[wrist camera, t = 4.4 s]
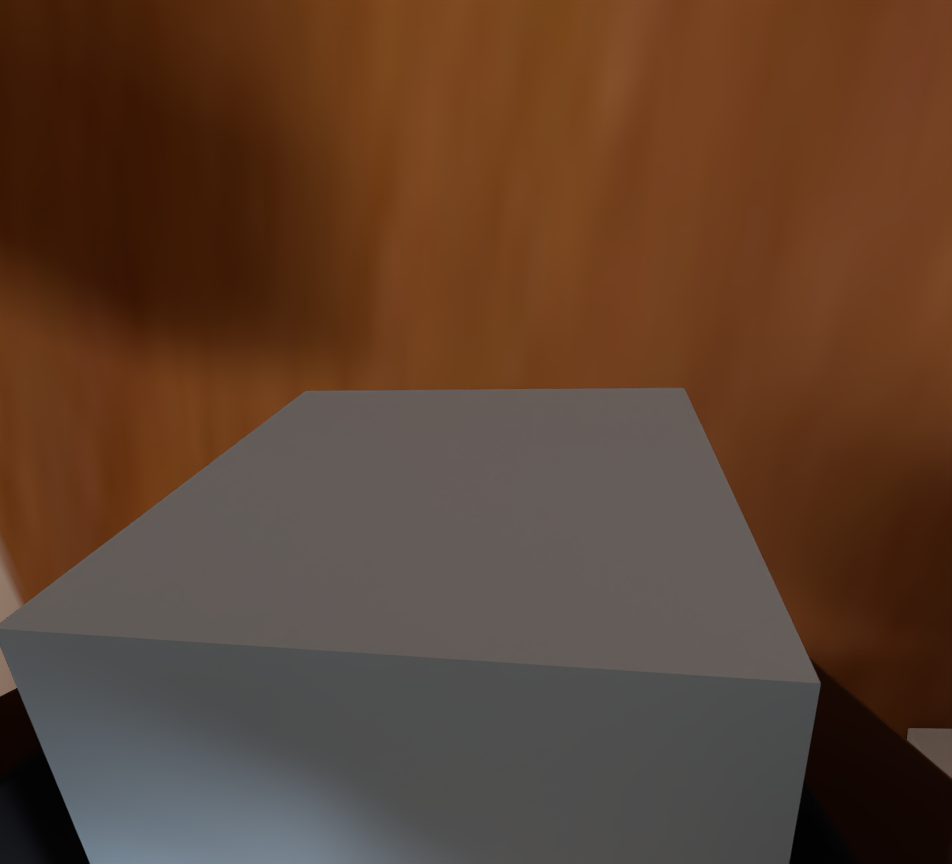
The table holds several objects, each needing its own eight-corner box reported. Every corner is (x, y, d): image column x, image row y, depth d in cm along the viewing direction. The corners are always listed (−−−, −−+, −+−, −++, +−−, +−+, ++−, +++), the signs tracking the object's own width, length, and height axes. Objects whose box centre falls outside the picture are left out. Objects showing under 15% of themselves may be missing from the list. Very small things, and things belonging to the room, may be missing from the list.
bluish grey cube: (353, 677, 11) (172, 1062, 6) (304, 390, 9) (-8, 628, 4) (664, 700, 10) (734, 1172, 5) (684, 387, 8) (820, 683, 3)
